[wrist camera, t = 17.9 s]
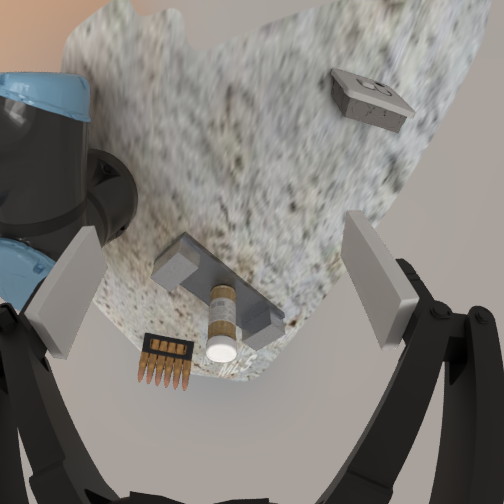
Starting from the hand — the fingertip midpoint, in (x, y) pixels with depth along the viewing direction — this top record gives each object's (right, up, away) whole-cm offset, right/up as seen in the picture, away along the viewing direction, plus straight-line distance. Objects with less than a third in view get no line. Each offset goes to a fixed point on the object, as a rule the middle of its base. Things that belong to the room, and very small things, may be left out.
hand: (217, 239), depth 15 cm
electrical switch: (+16, +21, +21) cm, 34 cm away
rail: (-3, -7, +39) cm, 40 cm away
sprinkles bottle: (-3, -8, +39) cm, 39 cm away
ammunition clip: (-16, -19, +47) cm, 53 cm away
